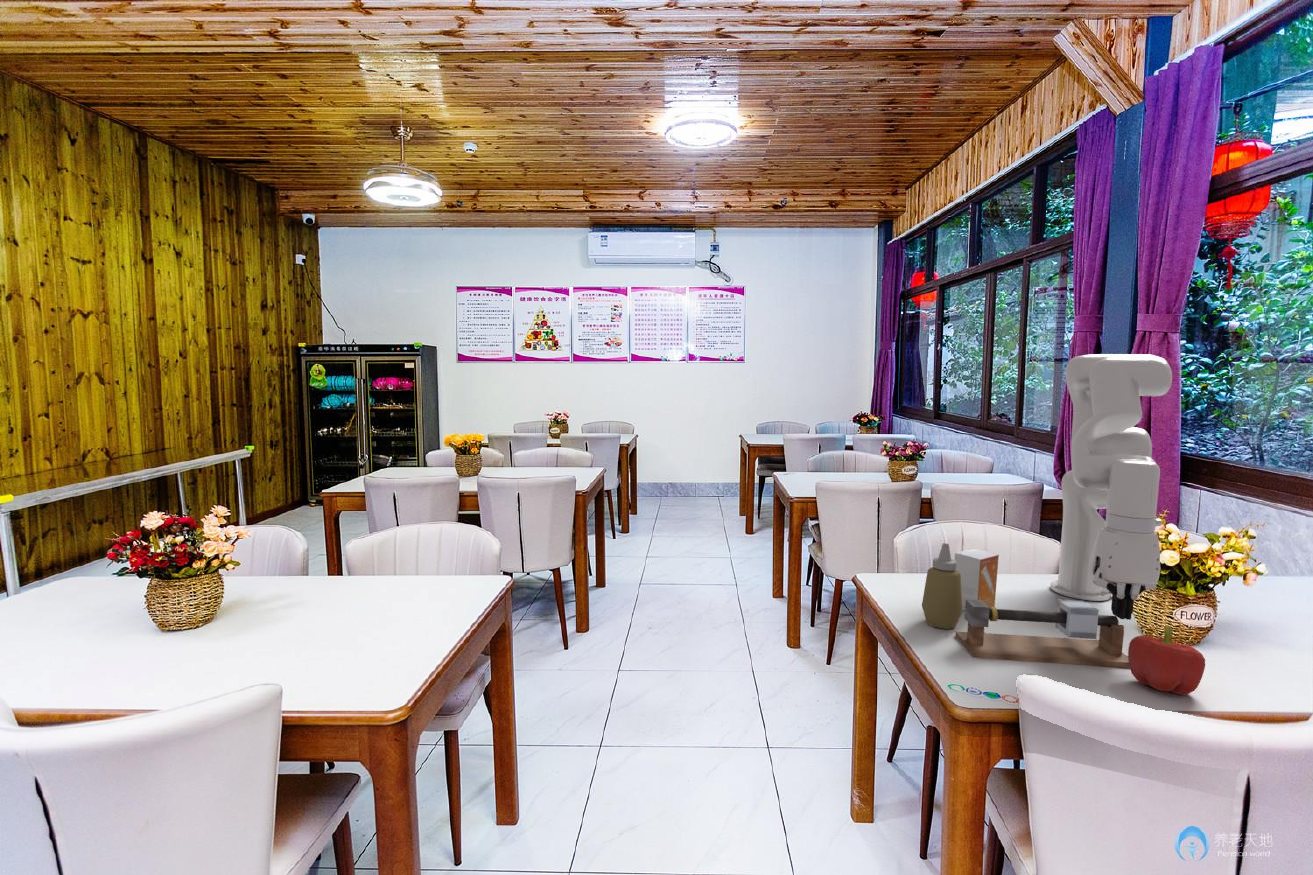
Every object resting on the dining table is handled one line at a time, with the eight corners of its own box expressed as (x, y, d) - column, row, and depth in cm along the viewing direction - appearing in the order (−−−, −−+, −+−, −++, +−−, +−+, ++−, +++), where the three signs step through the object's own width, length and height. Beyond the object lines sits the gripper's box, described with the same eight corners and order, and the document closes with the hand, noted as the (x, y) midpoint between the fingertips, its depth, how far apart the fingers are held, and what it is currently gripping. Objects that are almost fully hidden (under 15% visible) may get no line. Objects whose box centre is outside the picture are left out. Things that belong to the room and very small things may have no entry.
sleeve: (1082, 629, 123) (1084, 600, 123) (1096, 639, 119) (1098, 609, 118) (1055, 627, 124) (1057, 599, 123) (1068, 637, 119) (1070, 608, 119)
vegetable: (1127, 666, 116) (1131, 615, 115) (1200, 684, 110) (1205, 630, 109) (1124, 688, 108) (1129, 633, 107) (1203, 709, 101) (1209, 651, 100)
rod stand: (1105, 645, 125) (1109, 602, 125) (1137, 668, 116) (1141, 621, 115) (955, 635, 129) (957, 594, 128) (973, 657, 119) (976, 612, 118)
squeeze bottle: (960, 621, 137) (966, 541, 135) (961, 634, 130) (967, 551, 128) (921, 614, 140) (925, 537, 139) (920, 627, 133) (924, 546, 131)
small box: (976, 615, 141) (980, 559, 140) (950, 606, 146) (953, 552, 145) (995, 608, 145) (999, 554, 144) (969, 599, 151) (972, 547, 149)
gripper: (1159, 521, 121) (1150, 612, 123) (1076, 517, 123) (1069, 607, 124) (1186, 530, 113) (1177, 627, 115) (1098, 526, 115) (1090, 621, 117)
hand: (1121, 616), depth 120 cm, fingers closed
